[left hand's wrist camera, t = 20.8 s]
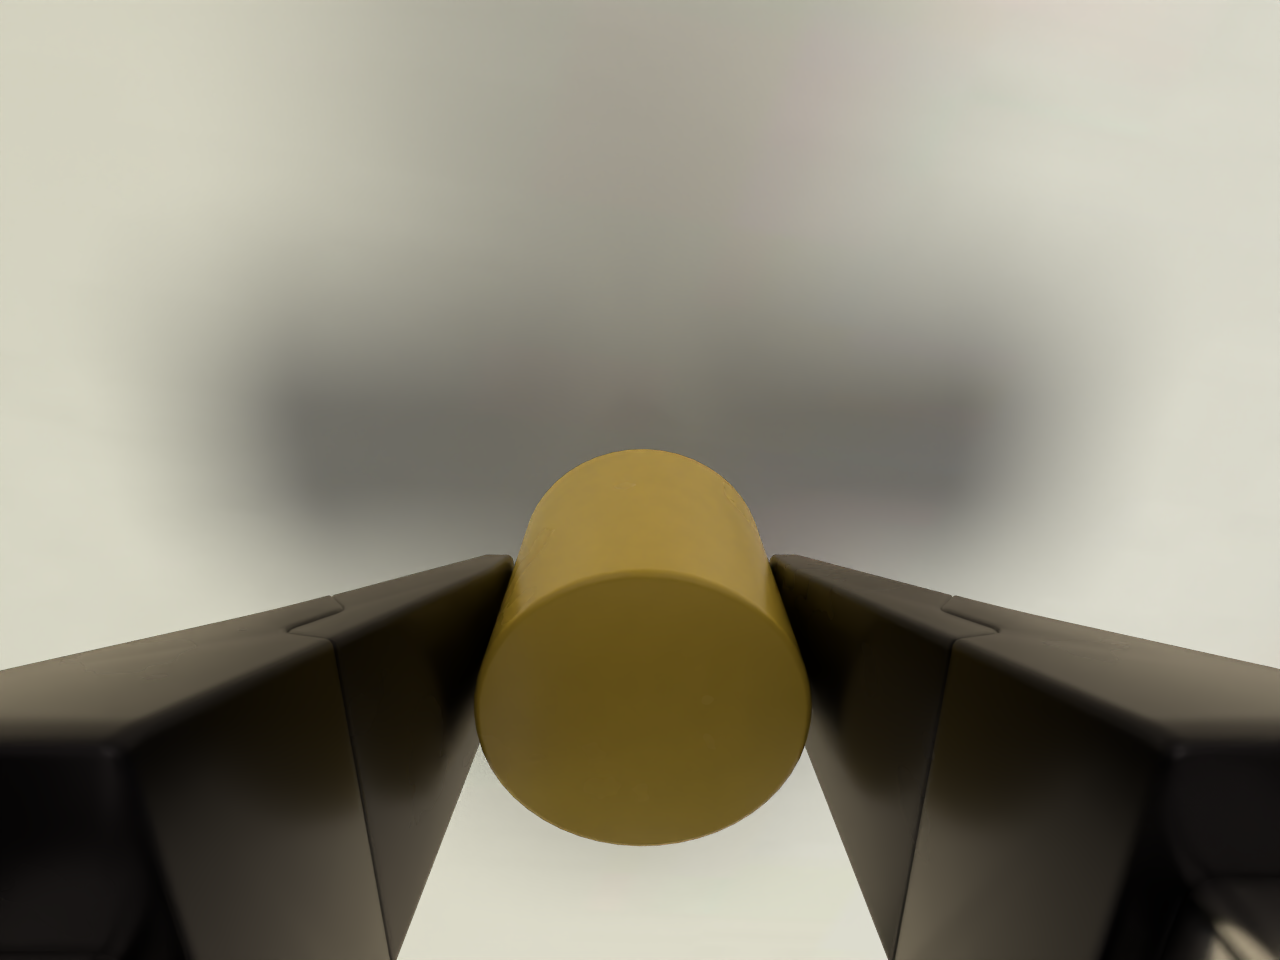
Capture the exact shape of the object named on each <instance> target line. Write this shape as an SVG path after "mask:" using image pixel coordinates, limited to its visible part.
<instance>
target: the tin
mask: <svg viewBox="0 0 1280 960" xmlns="http://www.w3.org/2000/svg"><path fill="white" fill-rule="evenodd" d="M811 713H812V697H811V687H810V682H809V678H808V674H807V671H806V667H805V664H804V661H803V658H802V656H801V653H800V650H799V647H798V644H797V641H796V638H795V636H794V633H793V630H792V627H791V624H790V621H789V618H788V615H787V613H786V610H785V607H784V604H783V601H782V598H781V595H780V593H779V590H778V587H777V584H776V581H775V578H774V575H773V573H772V570H771V567H770V564H769V561H768V558H767V555H766V553H765V550H764V547H763V544H762V541H761V538H760V535H759V533H758V530H757V527H756V524H755V521H754V519H753V517H752V515H751V512H750V510H749V508H748V507H747V505H746V504H745V502H744V500H743V499H742V497H741V496H740V495H739V494H738V492H737V491H736V490H735V489H734V488H733V487H732V485H731V484H729V483H728V482H727V481H726V480H725V479H724V478H723V477H722V476H720V475H719V474H718V473H716V472H715V471H713V470H712V469H710V468H709V467H707V466H705V465H703V464H701V463H699V462H697V461H695V460H693V459H691V458H688V457H685V456H682V455H679V454H676V453H671V452H666V451H662V450H650V449H634V450H624V451H618V452H612V453H609V454H605V455H602V456H598V457H596V458H593V459H591V460H589V461H587V462H584V463H582V464H580V465H579V466H577V467H575V468H574V469H572V470H570V471H569V472H568V473H566V474H565V475H564V476H563V477H561V478H560V479H559V480H558V481H556V482H555V483H554V485H553V486H552V487H551V488H550V489H549V490H548V491H547V492H546V493H545V495H544V496H543V497H542V499H541V500H540V502H539V503H538V504H537V506H536V508H535V510H534V512H533V514H532V516H531V518H530V521H529V524H528V527H527V530H526V533H525V536H524V539H523V542H522V545H521V548H520V551H519V554H518V557H517V560H516V563H515V566H514V569H513V572H512V575H511V578H510V581H509V584H508V587H507V590H506V593H505V596H504V599H503V602H502V605H501V608H500V610H499V613H498V616H497V619H496V622H495V625H494V628H493V631H492V634H491V637H490V640H489V643H488V646H487V649H486V652H485V655H484V658H483V661H482V664H481V667H480V670H479V673H478V676H477V681H476V687H475V692H474V718H475V725H476V732H477V735H478V738H479V741H480V744H481V747H482V751H483V753H484V755H485V757H486V759H487V761H488V763H489V765H490V767H491V769H492V771H493V772H494V773H495V775H496V776H497V778H498V779H499V781H500V782H501V784H502V785H503V786H504V787H505V788H506V789H507V790H508V791H509V793H510V794H511V795H512V796H513V797H514V798H515V799H516V800H518V801H519V802H520V803H521V804H522V805H523V806H525V807H526V808H527V809H528V810H530V811H531V812H533V813H534V814H536V815H537V816H539V817H540V818H541V819H543V820H545V821H547V822H549V823H550V824H552V825H554V826H556V827H558V828H560V829H562V830H565V831H568V832H570V833H573V834H575V835H578V836H581V837H584V838H588V839H592V840H595V841H599V842H605V843H611V844H617V845H630V846H658V845H666V844H674V843H681V842H685V841H689V840H694V839H698V838H701V837H704V836H707V835H710V834H713V833H716V832H718V831H720V830H722V829H725V828H727V827H729V826H731V825H733V824H735V823H737V822H738V821H740V820H742V819H743V818H745V817H747V816H748V815H750V814H752V813H753V812H754V811H755V810H757V809H758V808H759V807H761V806H762V805H763V804H764V803H766V802H767V801H768V800H769V799H770V798H771V797H772V796H773V795H774V794H775V793H776V792H777V791H778V790H779V789H780V788H781V786H782V785H783V784H784V782H785V781H786V780H787V778H788V777H789V776H790V775H791V773H792V771H793V769H794V768H795V766H796V764H797V762H798V761H799V759H800V756H801V754H802V751H803V749H804V746H805V743H806V741H807V737H808V732H809V728H810V723H811Z"/></svg>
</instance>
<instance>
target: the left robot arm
mask: <svg viewBox="0 0 1280 960" xmlns="http://www.w3.org/2000/svg"><path fill="white" fill-rule="evenodd" d="M769 564H770V567H771V570H772V573H773V575H774V578H775V581H776V584H777V587H778V590H779V593H780V595H781V598H782V601H783V604H784V607H785V610H786V613H787V615H788V618H789V621H790V624H791V627H792V630H793V633H794V636H795V638H796V641H797V644H798V647H799V650H800V653H801V656H802V658H803V661H804V664H805V667H806V671H807V674H808V678H809V682H810V687H811V697H812V713H811V723H810V728H809V732H808V737H807V741H806V743H805V747H806V750H807V752H808V755H809V757H810V760H811V763H812V765H813V768H814V770H815V773H816V775H817V778H818V781H819V783H820V786H821V788H822V791H823V793H824V796H825V799H826V801H827V804H828V806H829V809H830V811H831V814H832V817H833V819H834V822H835V824H836V827H837V829H838V832H839V835H840V837H841V840H842V842H843V845H844V847H845V850H846V853H847V855H848V858H849V860H850V863H851V865H852V868H853V871H854V873H855V876H856V878H857V881H858V883H859V886H860V888H861V891H862V894H863V896H864V899H865V901H866V904H867V906H868V909H869V912H870V914H871V917H872V919H873V922H874V924H875V927H876V930H877V932H878V935H879V937H880V940H881V942H882V945H883V948H884V950H885V953H886V955H887V958H888V960H1280V669H1277V668H1272V667H1268V666H1263V665H1259V664H1254V663H1250V662H1245V661H1241V660H1236V659H1232V658H1227V657H1223V656H1218V655H1214V654H1209V653H1205V652H1200V651H1195V650H1191V649H1186V648H1182V647H1177V646H1173V645H1168V644H1164V643H1159V642H1155V641H1150V640H1146V639H1141V638H1137V637H1132V636H1127V635H1123V634H1118V633H1114V632H1109V631H1105V630H1100V629H1096V628H1091V627H1087V626H1082V625H1078V624H1073V623H1069V622H1064V621H1059V620H1055V619H1050V618H1046V617H1042V616H1037V615H1033V614H1029V613H1025V612H1020V611H1016V610H1012V609H1007V608H1003V607H999V606H995V605H991V604H987V603H983V602H979V601H975V600H971V599H968V598H964V597H960V596H953V597H952V596H951V595H948V594H945V593H941V592H937V591H933V590H929V589H926V588H922V587H918V586H914V585H910V584H906V583H903V582H899V581H895V580H891V579H887V578H884V577H880V576H876V575H872V574H868V573H864V572H861V571H857V570H853V569H849V568H845V567H842V566H838V565H834V564H830V563H826V562H822V561H819V560H815V559H811V558H807V557H803V556H800V555H773V556H772V557H771V559H770V563H769ZM513 569H514V563H513V559H512V557H511V556H510V555H484V556H480V557H476V558H472V559H468V560H465V561H461V562H457V563H453V564H449V565H446V566H442V567H438V568H434V569H431V570H427V571H423V572H419V573H415V574H412V575H408V576H404V577H400V578H397V579H393V580H389V581H385V582H381V583H378V584H374V585H370V586H366V587H362V588H359V589H355V590H351V591H347V592H344V593H340V594H336V595H333V596H332V597H331V596H325V597H321V598H317V599H313V600H309V601H305V602H301V603H297V604H293V605H289V606H285V607H281V608H277V609H273V610H269V611H265V612H260V613H256V614H252V615H248V616H243V617H239V618H235V619H230V620H226V621H221V622H217V623H212V624H208V625H203V626H199V627H194V628H190V629H185V630H181V631H176V632H172V633H167V634H163V635H158V636H154V637H149V638H145V639H140V640H136V641H131V642H127V643H122V644H118V645H113V646H109V647H104V648H100V649H95V650H91V651H86V652H82V653H77V654H73V655H68V656H64V657H59V658H55V659H50V660H46V661H41V662H37V663H32V664H28V665H23V666H19V667H14V668H10V669H5V670H1V671H0V960H397V957H398V954H399V952H400V949H401V947H402V944H403V941H404V939H405V936H406V934H407V931H408V928H409V926H410V923H411V921H412V918H413V915H414V913H415V910H416V908H417V905H418V902H419V900H420V897H421V894H422V892H423V889H424V887H425V884H426V881H427V879H428V876H429V874H430V871H431V868H432V866H433V863H434V861H435V858H436V855H437V853H438V850H439V848H440V845H441V842H442V840H443V837H444V835H445V832H446V829H447V827H448V824H449V822H450V819H451V816H452V814H453V811H454V809H455V806H456V803H457V801H458V798H459V796H460V793H461V790H462V788H463V785H464V783H465V780H466V777H467V775H468V772H469V770H470V767H471V764H472V762H473V759H474V757H475V754H476V751H477V749H478V746H479V744H480V741H479V738H478V735H477V732H476V725H475V718H474V692H475V687H476V681H477V676H478V673H479V670H480V667H481V664H482V661H483V658H484V655H485V652H486V649H487V646H488V643H489V640H490V637H491V634H492V631H493V628H494V625H495V622H496V619H497V616H498V613H499V610H500V608H501V605H502V602H503V599H504V596H505V593H506V590H507V587H508V584H509V581H510V578H511V575H512V572H513Z"/></svg>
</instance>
